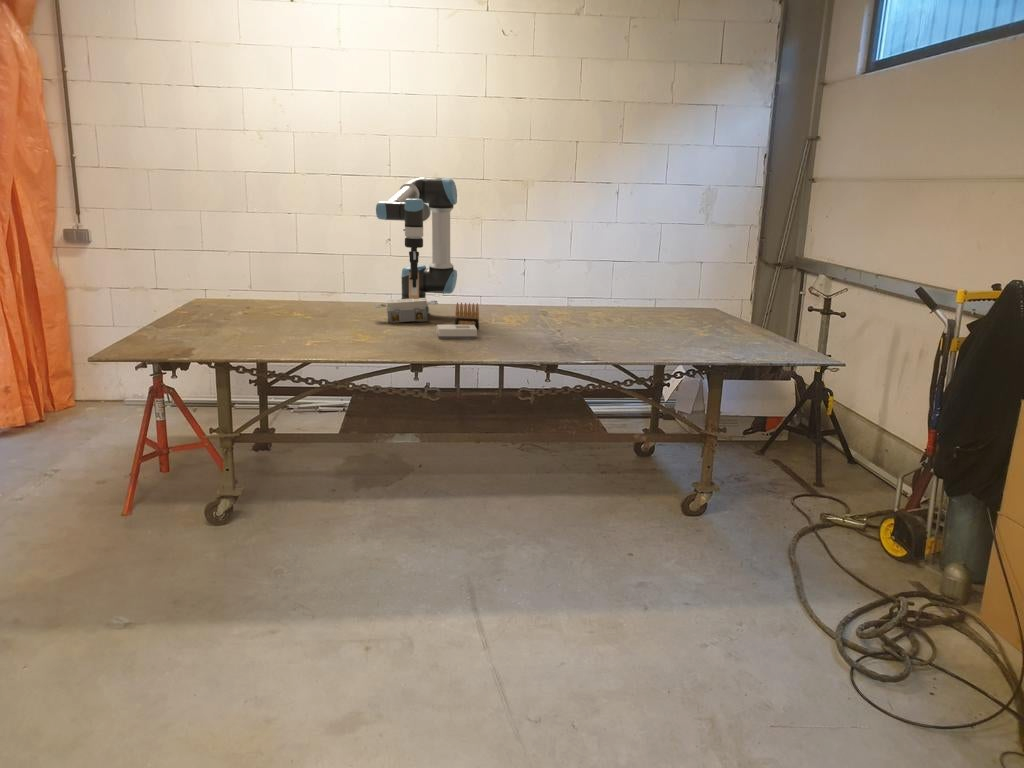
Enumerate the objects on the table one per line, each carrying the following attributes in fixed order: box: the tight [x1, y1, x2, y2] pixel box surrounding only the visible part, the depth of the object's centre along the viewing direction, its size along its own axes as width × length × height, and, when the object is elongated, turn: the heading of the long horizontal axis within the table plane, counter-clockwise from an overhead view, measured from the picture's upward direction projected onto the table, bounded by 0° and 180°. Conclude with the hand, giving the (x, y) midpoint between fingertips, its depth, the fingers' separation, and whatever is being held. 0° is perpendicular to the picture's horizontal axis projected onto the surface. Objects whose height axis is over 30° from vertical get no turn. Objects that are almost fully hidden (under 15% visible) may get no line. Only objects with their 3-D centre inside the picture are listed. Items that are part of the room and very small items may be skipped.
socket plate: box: [436, 324, 478, 340], centre depth 318 cm, size 10×16×4 cm, turn 100°
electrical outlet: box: [375, 297, 439, 324], centre depth 347 cm, size 12×28×10 cm, turn 100°
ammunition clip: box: [454, 302, 480, 331], centre depth 332 cm, size 11×2×12 cm, turn 86°
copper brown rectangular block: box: [409, 269, 419, 299], centre depth 312 cm, size 4×4×12 cm
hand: (413, 294), depth 313 cm, fingers closed on copper brown rectangular block, 4 cm apart
